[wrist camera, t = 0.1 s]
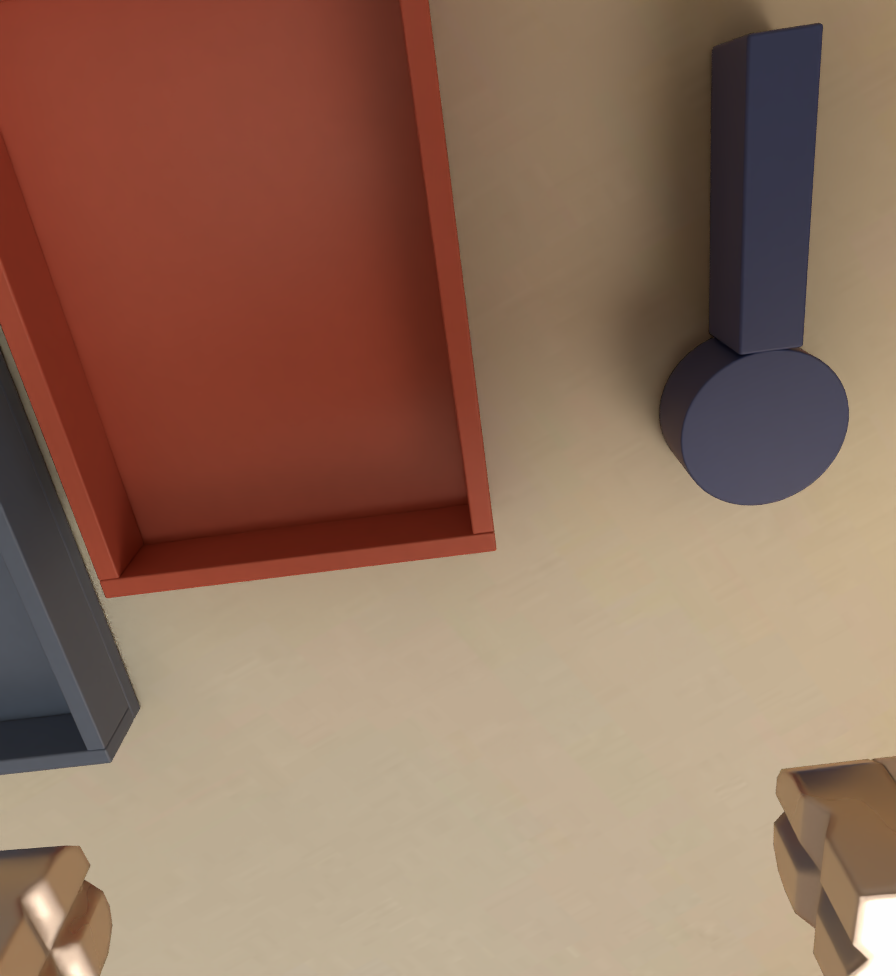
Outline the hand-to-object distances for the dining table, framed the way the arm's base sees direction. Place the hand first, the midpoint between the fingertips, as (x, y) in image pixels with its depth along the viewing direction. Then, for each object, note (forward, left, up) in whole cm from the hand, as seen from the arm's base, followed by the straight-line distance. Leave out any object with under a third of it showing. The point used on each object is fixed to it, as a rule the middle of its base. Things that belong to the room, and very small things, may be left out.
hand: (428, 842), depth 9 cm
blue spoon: (-4, +9, -14) cm, 17 cm away
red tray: (-5, -4, -14) cm, 16 cm away
